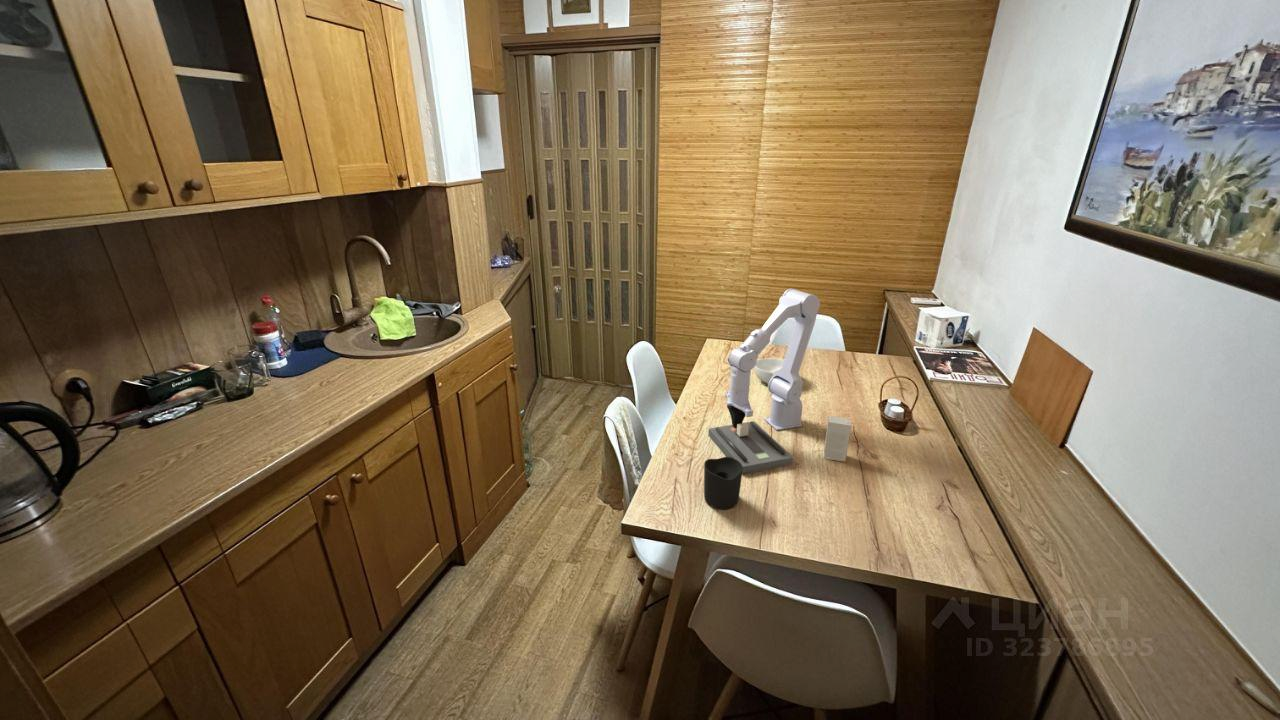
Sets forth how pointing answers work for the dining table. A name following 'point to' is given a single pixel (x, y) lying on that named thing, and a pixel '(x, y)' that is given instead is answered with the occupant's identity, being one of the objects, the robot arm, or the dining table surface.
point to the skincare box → (837, 438)
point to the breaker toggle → (742, 429)
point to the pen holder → (722, 482)
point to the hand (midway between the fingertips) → (736, 427)
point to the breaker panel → (750, 448)
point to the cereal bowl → (767, 368)
